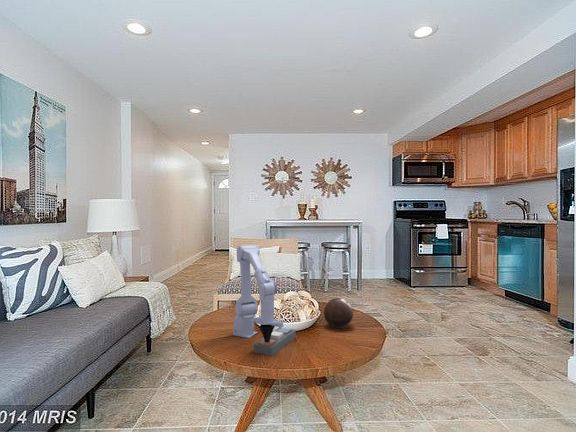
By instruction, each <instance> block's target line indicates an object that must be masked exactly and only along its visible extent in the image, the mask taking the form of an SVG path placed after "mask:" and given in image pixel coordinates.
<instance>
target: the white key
mask: <svg viewBox="0 0 576 432" xmlns="http://www.w3.org/2000/svg"><path fill="white" fill-rule="evenodd" d="M282 337H283V333H282V332H277V331H275V330H273V331H272V334H271V337H270V339H276V340H280V339H281V338H282Z"/></svg>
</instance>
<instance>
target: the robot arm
mask: <svg viewBox="0 0 576 432" xmlns="http://www.w3.org/2000/svg"><path fill="white" fill-rule="evenodd" d="M260 251H261V250H260V246H259V245H258V244H257V243H256V244H244V245H243V244H239V245H238V246H237V248H236V262H238V263H239V268H240V293H241V295H240V297H239V298H238V299H236V301H235V307H234V310H235V314H236V315H235V317H234V319H233V333H232V336H237V337H240V338H241V337H242V338H247V339H248V338H249V339H250V338H252V337H253V336H255V335H256V334H258V331H255V324H260V325H259V330H260V331H261V333H262V336H263V338H264V340H265V342H267V343H268V342H269V341H270V337H271V334H272V332H273V331H274V329H275V327H276V328H277V327H278V328H284V321H281V320H276V319H275V295H276V294H277V283H276V282H275V281H273V279H271V278H270V275H269V273H268V271H267V269H266V268H263V265H262V261H261V259H260ZM251 266H252V268H253V270H254V271H255V272H254V278H255V280H256V283H257V285H258V288H257V290H258V291H257V292H258V294H259V300H260V317H256V315H257V313H258V309H259V307H258V306H259V305H258V303H257V299H256V298H255V297H254V296H252V277H251V274H252V273H251Z"/></svg>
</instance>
